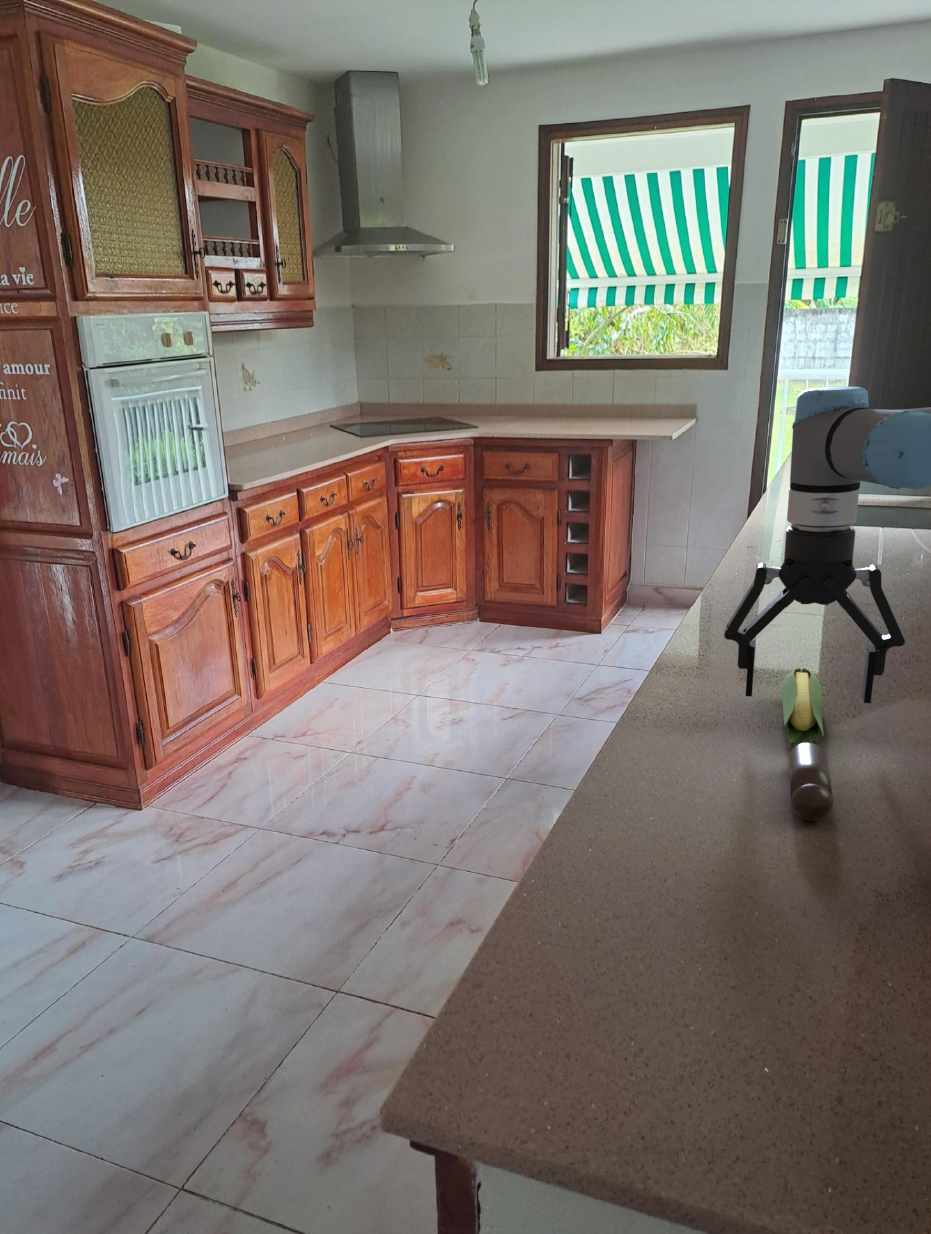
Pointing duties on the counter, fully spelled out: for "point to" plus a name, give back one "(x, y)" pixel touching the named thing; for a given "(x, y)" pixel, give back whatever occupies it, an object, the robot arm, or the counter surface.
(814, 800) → the dark brown capsule
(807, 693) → the edible corn
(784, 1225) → the counter surface
